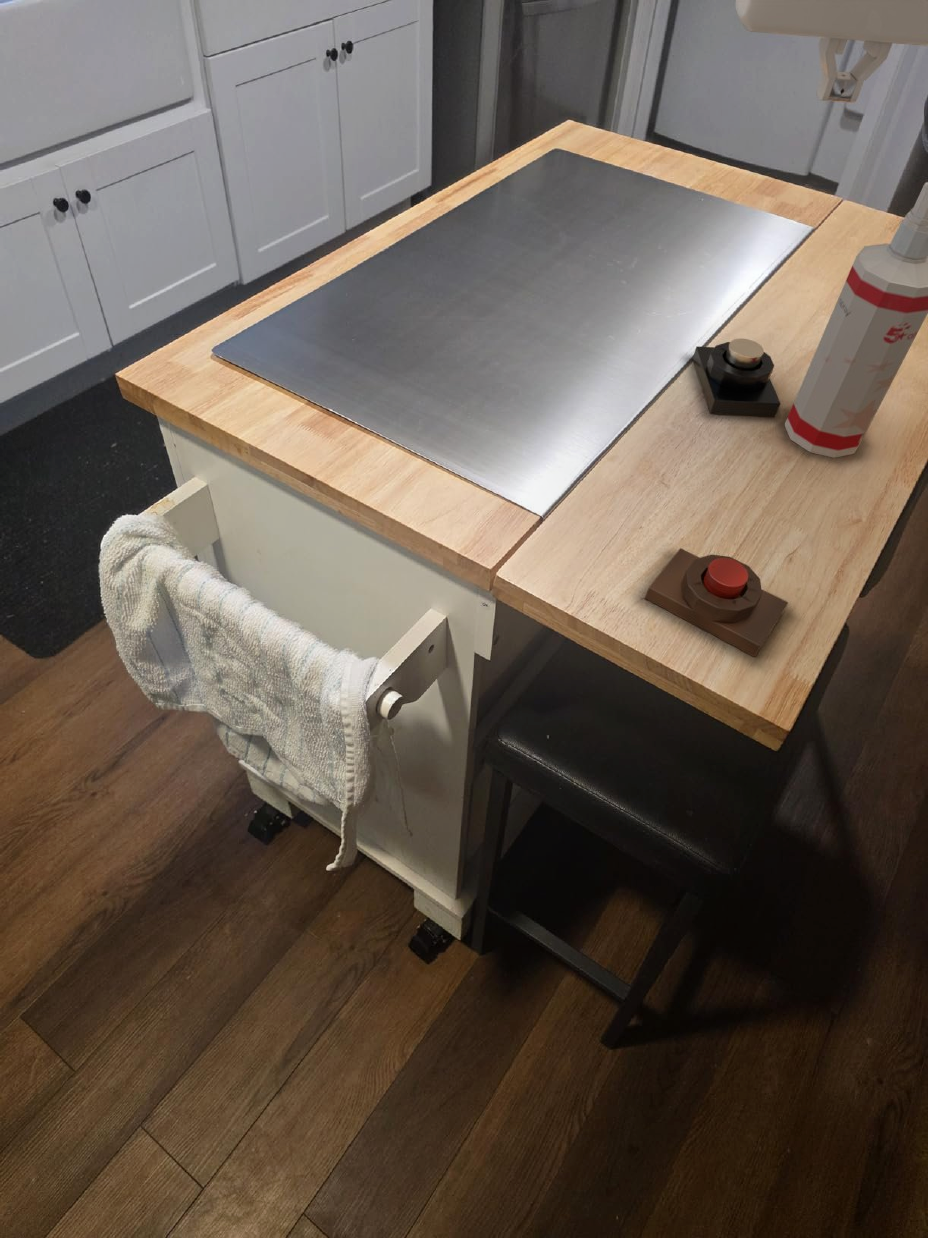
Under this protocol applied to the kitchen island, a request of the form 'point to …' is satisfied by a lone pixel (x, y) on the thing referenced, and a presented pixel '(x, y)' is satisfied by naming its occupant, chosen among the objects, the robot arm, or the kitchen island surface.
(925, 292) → the spray bottle
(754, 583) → the block
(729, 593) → the bell button
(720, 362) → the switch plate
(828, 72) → the robot arm
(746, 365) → the switch button
